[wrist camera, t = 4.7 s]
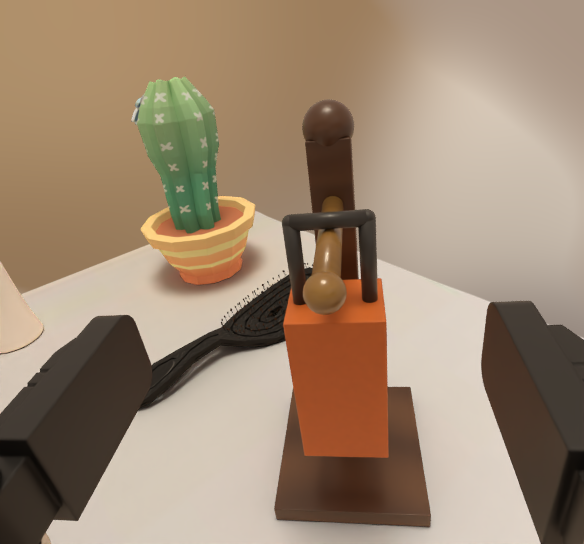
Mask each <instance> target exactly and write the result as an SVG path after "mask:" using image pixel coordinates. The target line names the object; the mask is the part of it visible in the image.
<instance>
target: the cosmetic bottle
mask: <svg viewBox="0 0 584 544" xmlns="http://www.w3.org/2000/svg"><path fill="white" fill-rule="evenodd" d="M42 331H43V324H42V323H41V322H40V320H39V319H38V318H37V317H36V315H35V314H34V313H33V312H32V310H31V309H30V307H29V306H28V305H27V303H26V302H25V300H24V299H23V297H22V296H21V294H20V293H19V291H18V290H17V288H16V286H15V285H14V283H13V282H12V280H11V278H10V277H9V275H8V273H7V272H6V270H5V268H4V267H3V265H2V263H1V262H0V353H7V352H11V351H15V350H17V349H20V348H22V347H24V346H26V345H28V344H30V343H31V342H33V341H34V340H35V339H37V338H38V337H39V336H40V334H41V333H42Z"/></svg>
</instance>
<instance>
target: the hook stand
mask: <svg viewBox="0 0 584 544" xmlns="http://www.w3.org/2000/svg"><path fill="white" fill-rule="evenodd" d="M302 130H303V135H304V138H305V140H306V142H305V146H306V155H307V165H308V174H309V183H310V192H311V203H312V212H313V213H320V212H335V211H349V210H355V200H354V182H353V163H352V144H351V138H352V135H353V131H354V121H353V117H352V114H351V113H350V111H349V109H348V108H347V107H346V106H345V105H343V104H342V103H340V102H338V101H335V100H322V101H319V102H317V103H316V104H314V105H313V106H312V107H310V109H309V110H308V111H307V113H306V115H305V117H304V120H303V126H302ZM314 231H315V241H316V250H315V257H314V263H313V270H312V276H310V277H309V278H308V279H307V281H306V282H305V285H304V288H303V298H304V301H305V303H306V305H307V306H308V308H309V309H310V310H312V311H313V312H315V313H317V314H321V315H329V314H332V313H335V312H336V311H338V310H339V309H340V308H341V307H342V306H343V304H344V302H345V300H346V295H347V291H346V286H345V284H344V282H343V280H355V279H359V276H358V257H357V238H356V227H354V228H337V229H321V230H314ZM387 394H388V455H389V456H388V458H378V457H335V456H305V455H304V449H303V443H302V437H301V431H300V424H299V418H298V412H297V406H296V400H295V394H294V388H293V392H292V398H291V405H290V411H289V418H288V424H287V431H286V437H285V443H284V450H283V456H282V463H281V469H280V476H279V482H278V488H277V495H276V501H275V508H274V510H275V514H276V518H277V519H281V520H302V521H323V522H343V523H364V524H385V525H406V526H427V527H430V521H431V514H430V507H429V501H428V495H427V489H426V482H425V476H424V470H423V464H422V457H421V451H420V445H419V439H418V432H417V426H416V420H415V413H414V407H413V401H412V395H411V388H410V387H387Z"/></svg>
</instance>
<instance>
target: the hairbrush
mask: <svg viewBox="0 0 584 544" xmlns="http://www.w3.org/2000/svg"><path fill="white" fill-rule="evenodd" d="M304 264H305V263H304ZM307 265H308V263H307ZM312 266H313V264H312ZM312 270H313V268H310V267H309V268H307V267H306V269H305V277H306V281H307V279H308V278H309V277H310V276H312ZM283 272H285V271H283ZM284 275H285V274H284ZM278 276H279V275H278ZM279 278H280V277H279ZM273 279H274V278H273ZM277 281H278V280H277ZM267 282H268V281H267ZM268 284H269V283H268ZM263 285H264V284H262V286H263ZM263 288H264V287H263ZM257 290H258V288H257ZM264 290H266V289H264ZM290 291H291V282H290V275H288V276H286V277H285V278H283V279H282V280H281V279H280V281H278V282H277V283H275V284H274V285H273V284H272V286H271V287H270V288H268V287H267V290H266V291H264V292H263V291H261V293H262V294H260V295H257V296H258V297H256V298H255V299H254V298H253V300H252V301H251V302H250V303H249V302H248V301H247V302H248V304H247V305H246V306H245V305H244V307H243V308H242V307H241V308H242V309H239V310H240V311H237V312H236V314H235V315H234V314H233V316H232V317H231V318H230V319H229V320H228V321H227V320H226V321H227V322H226V323H225V324H224V325H223V324H222V322H221V324H222V325H223V326H222V327H221V328H219V329H217V330H214V331H212V332H209V333H207V334H206V335H204V336H202V337H200V338H198V339H196V340H195V341H193V342H191V343H189V344H187V345H185V346H184V347H182V348H180V349H178V350H176V351H175V352H173V353H171V354H169V355H168V356H166V357H164V358H163V359H161V360H159V361H157V362H156V363H154V364H153V365H152V381H151V386H150V389H149V391H148V393H147V395H146V396H145V398H144V400H143V402H142V404H141V406H140V407H143V406H146V405H148V404H150V403H151V402H153V401H154V400H155V399H156V398H157V397H159V396H160V395H161V394H162V393H163V392H164V391H166V390H167V389H168V388H169V387H170V386H172V385H173V384H174V383H175V382H176V380H177V379H178V378H179V377H180V376H181V375H182V374H183V373H184V372H185V371H186V370H187V369H188V368H189V367H190V366H191V365H192V364H193V363H195V362H196V361H198V360H199V359H201V358H202V357H204V356H205V355H207V354H208V353H210V352H211V351H213V350H214V349H216V348H217V347H219V346H266V345H270V344H273V343H277V342H281V341H284V340H286V339H285V333H284V327H283V323H284V318H285V314H286V309H287V305H288V300H289V296H290ZM254 292H255V290H254ZM252 293H253V291H252ZM255 294H256V293H255ZM248 297H249V296H248ZM245 298H246V297H245ZM243 300H244V299H243ZM246 300H247V298H246ZM244 302H245V301H244ZM237 304H238V303H237ZM239 304H240V302H239ZM239 304H238V305H239ZM245 304H246V303H245ZM240 306H241V305H240ZM235 308H236V306H235ZM239 308H240V307H239ZM236 310H237V309H236ZM230 311H232V309H230ZM227 313H228V312H227ZM232 313H233V312H232ZM276 313H277V315H276V316H273V315H275V314H276ZM272 316H273V317H272ZM224 317H225V316H224ZM229 317H230V316H229ZM222 321H223V319H222ZM223 323H224V322H223ZM232 331H233V332H232ZM233 333H234V334H233ZM140 407H139V408H140Z"/></svg>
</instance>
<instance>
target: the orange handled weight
mask: <svg viewBox="0 0 584 544" xmlns="http://www.w3.org/2000/svg"><path fill="white" fill-rule="evenodd" d="M375 219H376V217H375V214H374V212H373V211H371V210H369V209H365V210H349V211H335V212H320V213H306V214H291V215H287V216H285V217H284V218H283V220H282V227H283V234H284V241H285V248H286V255H287V262H288V268H289V275H290V282H291V291H290V296H289V300H288V305H287V309H286V314H285V318H284V323H283V327H284V333H285V339H286V345H287V351H288V357H289V363H290V370H291V376H292V382H293V388H294V394H295V400H296V406H297V412H298V418H299V424H300V431H301V437H302V443H303V449H304V455H305V456H335V457H378V458H388V456H389V455H388V394H387V332H386V315H385V306H384V297H383V289H382V280H381V279H380V278H378V279H377V255H376V220H375ZM354 227H358V228H359V246H360V247H359V248H360V268H361V279H355V280H343V282H344V284H345V286H346V291H347V295H346V300H345V302H344V304H343V306H342V307H341V308H340V309H339V310H338V311H336V312H335V313H332V314H329V315H321V314H317V313H315V312H313V311H312V310H310V309H309V308H308V306H307V305H306V303H305V301H304V298H303V288H304V285H305V282H306V277H305V269H304V261H303V253H302V245H301V237H300V231H305V230H321V229H337V228H354Z"/></svg>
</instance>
